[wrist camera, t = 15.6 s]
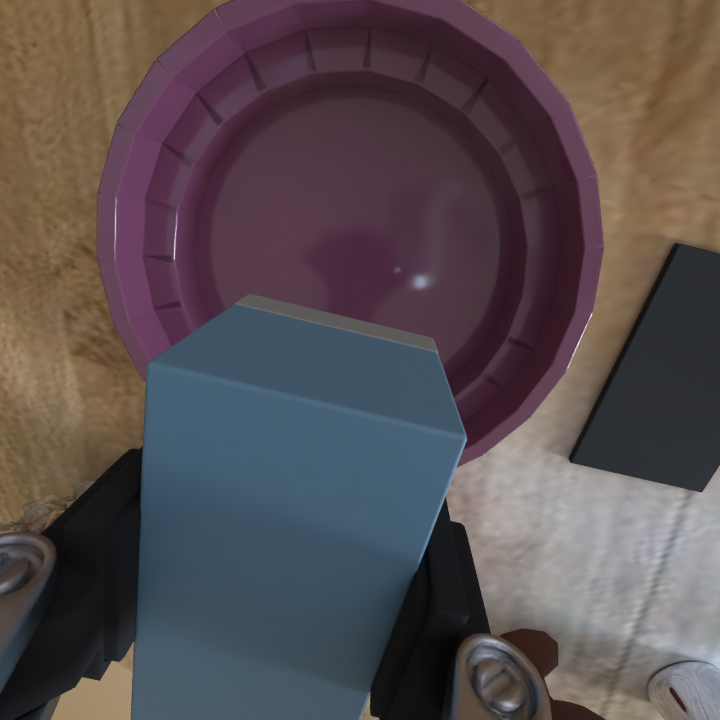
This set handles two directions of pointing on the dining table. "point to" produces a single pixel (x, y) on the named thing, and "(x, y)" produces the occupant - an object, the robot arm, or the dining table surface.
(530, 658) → the ice cream bowl
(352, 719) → the block
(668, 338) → the rubber mat
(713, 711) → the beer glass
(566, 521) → the dining table surface
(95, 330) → the dining table surface
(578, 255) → the serving bowl
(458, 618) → the robot arm
